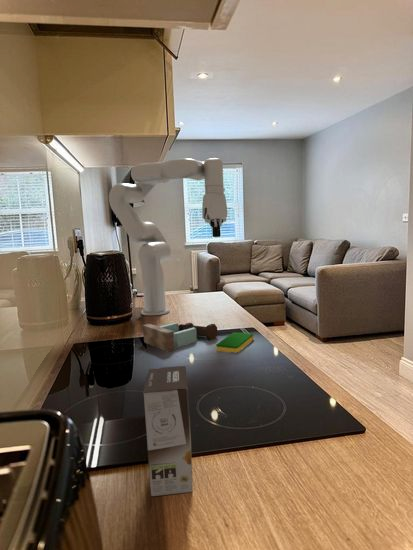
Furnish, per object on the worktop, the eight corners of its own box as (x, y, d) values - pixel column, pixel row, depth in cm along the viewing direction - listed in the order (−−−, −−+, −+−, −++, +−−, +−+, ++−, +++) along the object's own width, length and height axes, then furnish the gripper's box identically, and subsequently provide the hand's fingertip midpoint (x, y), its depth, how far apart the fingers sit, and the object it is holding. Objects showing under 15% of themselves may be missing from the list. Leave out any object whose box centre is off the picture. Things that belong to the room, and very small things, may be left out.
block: (154, 341, 128) (153, 328, 127) (176, 334, 134) (175, 322, 133) (173, 348, 119) (172, 334, 119) (196, 341, 125) (196, 328, 125)
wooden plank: (144, 342, 127) (142, 325, 126) (150, 340, 129) (149, 323, 128) (168, 351, 116) (166, 333, 116) (174, 349, 118) (173, 331, 117)
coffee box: (194, 492, 55) (188, 389, 53) (150, 497, 55) (142, 392, 52) (191, 454, 64) (186, 364, 62) (153, 458, 64) (146, 368, 61)
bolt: (181, 338, 136) (215, 342, 127) (172, 334, 132) (207, 339, 124) (185, 322, 138) (219, 325, 129) (176, 318, 134) (211, 321, 125)
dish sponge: (216, 352, 116) (215, 344, 115) (234, 338, 128) (233, 331, 127) (237, 354, 112) (236, 346, 112) (253, 340, 124) (253, 333, 124)
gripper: (221, 192, 158) (223, 235, 160) (193, 191, 148) (196, 238, 151) (234, 190, 152) (236, 235, 155) (206, 189, 143) (208, 238, 145)
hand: (216, 236), depth 153 cm, fingers closed
